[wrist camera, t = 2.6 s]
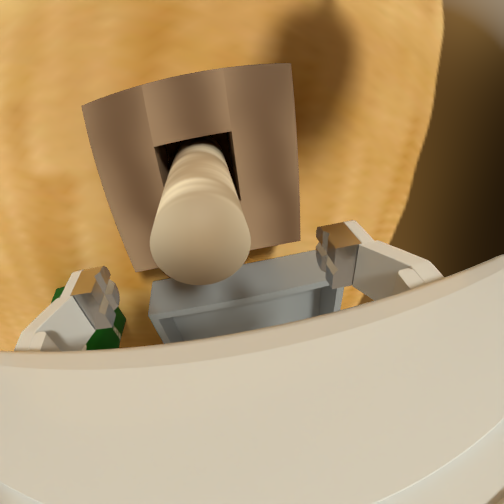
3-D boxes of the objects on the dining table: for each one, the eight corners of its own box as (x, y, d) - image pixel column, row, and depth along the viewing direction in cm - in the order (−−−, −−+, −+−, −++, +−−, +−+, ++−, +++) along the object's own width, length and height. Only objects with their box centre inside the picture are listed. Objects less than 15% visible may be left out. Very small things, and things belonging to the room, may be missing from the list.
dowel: (180, 182, 23) (166, 292, 12) (171, 139, 21) (136, 212, 9) (225, 173, 23) (255, 275, 12) (218, 130, 21) (244, 189, 10)
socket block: (144, 240, 25) (135, 272, 21) (104, 100, 17) (81, 105, 13) (283, 213, 27) (300, 240, 22) (272, 67, 18) (290, 63, 14)
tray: (197, 371, 40) (199, 398, 36) (152, 281, 28) (148, 315, 24) (316, 346, 41) (326, 371, 37) (326, 247, 30) (345, 275, 26)
